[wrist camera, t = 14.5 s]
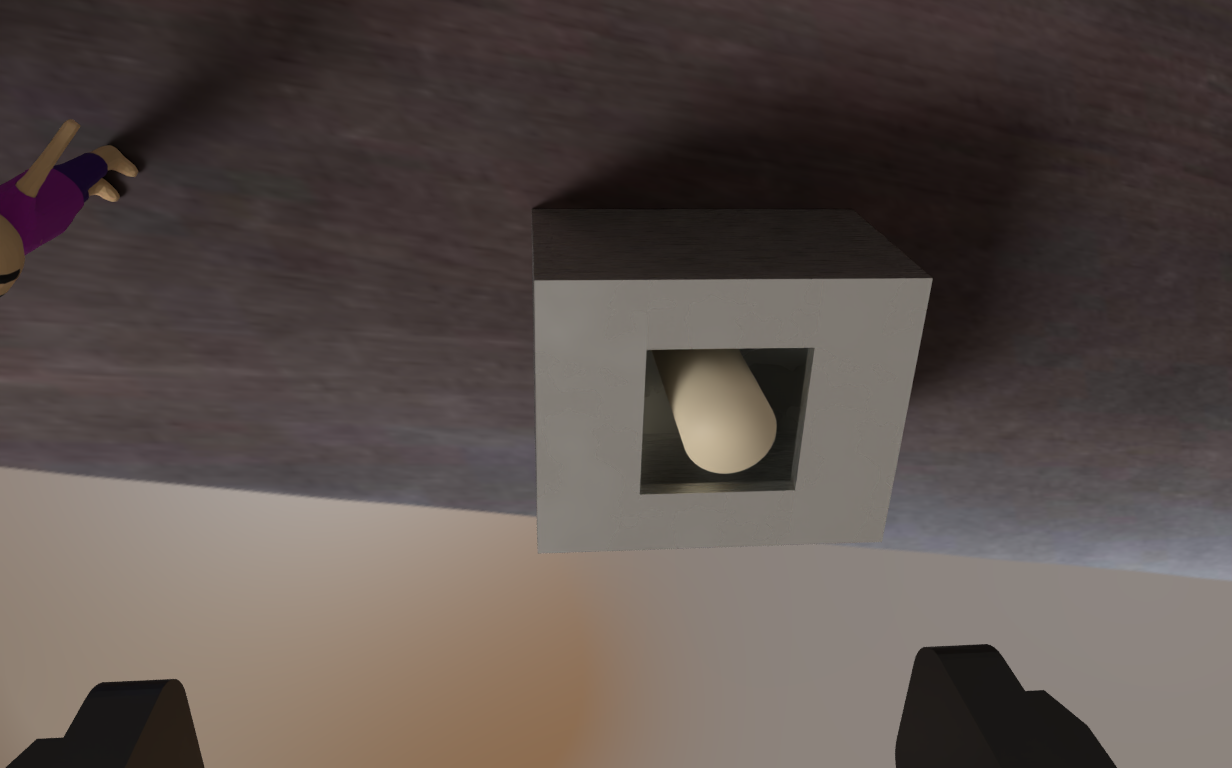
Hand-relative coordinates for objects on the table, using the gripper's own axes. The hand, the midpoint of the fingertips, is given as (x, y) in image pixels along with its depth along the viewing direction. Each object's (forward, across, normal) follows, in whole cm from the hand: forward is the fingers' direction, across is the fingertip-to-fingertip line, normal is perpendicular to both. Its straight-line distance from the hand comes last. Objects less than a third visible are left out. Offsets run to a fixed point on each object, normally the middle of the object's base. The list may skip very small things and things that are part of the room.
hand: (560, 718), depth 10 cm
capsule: (+35, -8, +11) cm, 38 cm away
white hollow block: (+36, -8, +11) cm, 38 cm away
